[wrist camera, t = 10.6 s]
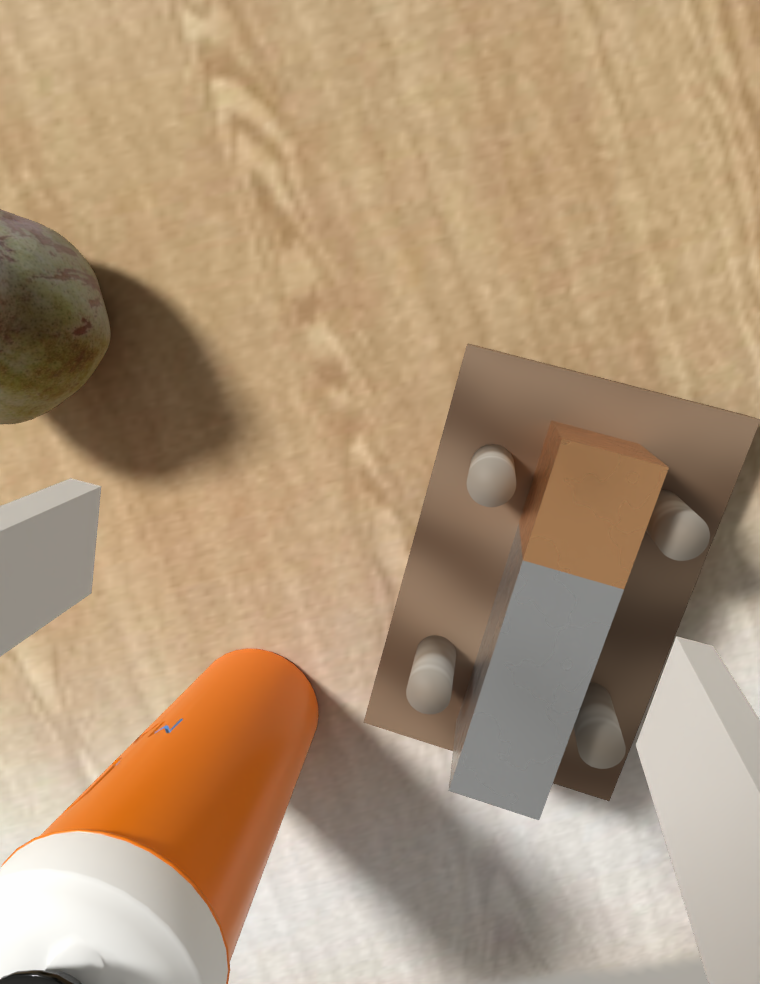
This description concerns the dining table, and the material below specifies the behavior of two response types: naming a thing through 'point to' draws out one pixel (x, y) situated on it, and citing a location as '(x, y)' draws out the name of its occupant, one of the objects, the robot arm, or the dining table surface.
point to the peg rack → (492, 527)
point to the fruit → (45, 319)
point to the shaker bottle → (164, 839)
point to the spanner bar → (552, 614)
